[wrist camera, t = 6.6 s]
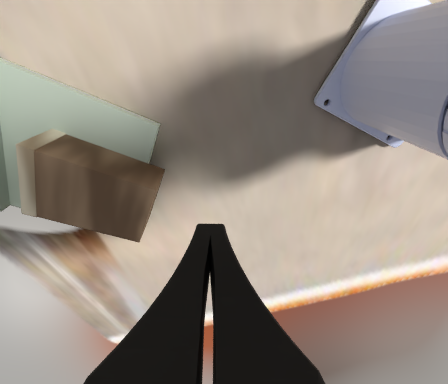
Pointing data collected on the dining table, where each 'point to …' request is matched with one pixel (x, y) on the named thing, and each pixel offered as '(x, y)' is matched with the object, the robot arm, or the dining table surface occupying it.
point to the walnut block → (86, 185)
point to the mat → (61, 122)
